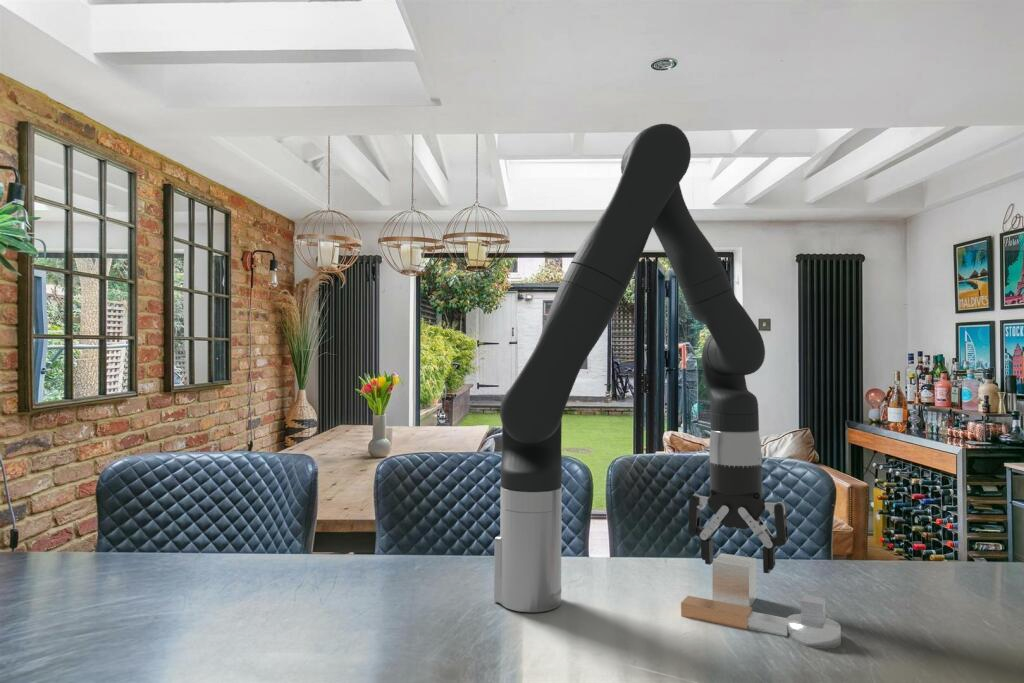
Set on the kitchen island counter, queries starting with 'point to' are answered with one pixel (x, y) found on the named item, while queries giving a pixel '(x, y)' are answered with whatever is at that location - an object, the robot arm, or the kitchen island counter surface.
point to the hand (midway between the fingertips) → (737, 567)
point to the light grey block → (734, 579)
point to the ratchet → (771, 620)
